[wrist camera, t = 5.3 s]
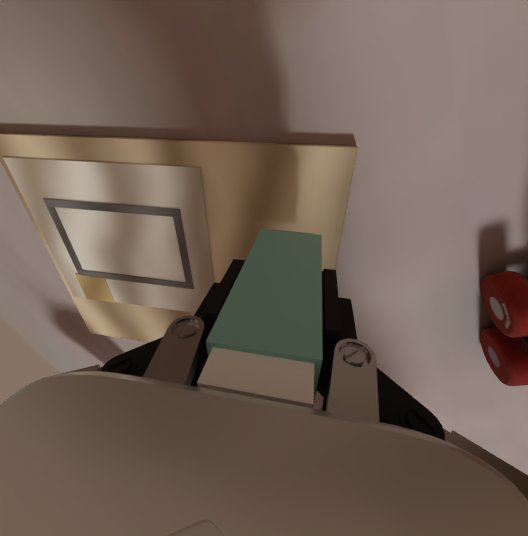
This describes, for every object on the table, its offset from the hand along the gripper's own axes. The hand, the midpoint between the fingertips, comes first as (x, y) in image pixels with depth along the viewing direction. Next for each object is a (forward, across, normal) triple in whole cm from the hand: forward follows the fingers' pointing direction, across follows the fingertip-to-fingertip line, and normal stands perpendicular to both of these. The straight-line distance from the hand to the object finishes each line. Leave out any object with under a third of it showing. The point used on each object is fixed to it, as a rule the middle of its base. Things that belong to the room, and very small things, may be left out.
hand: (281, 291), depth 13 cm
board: (+7, +9, +4) cm, 13 cm away
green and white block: (+4, 0, 0) cm, 4 cm away
